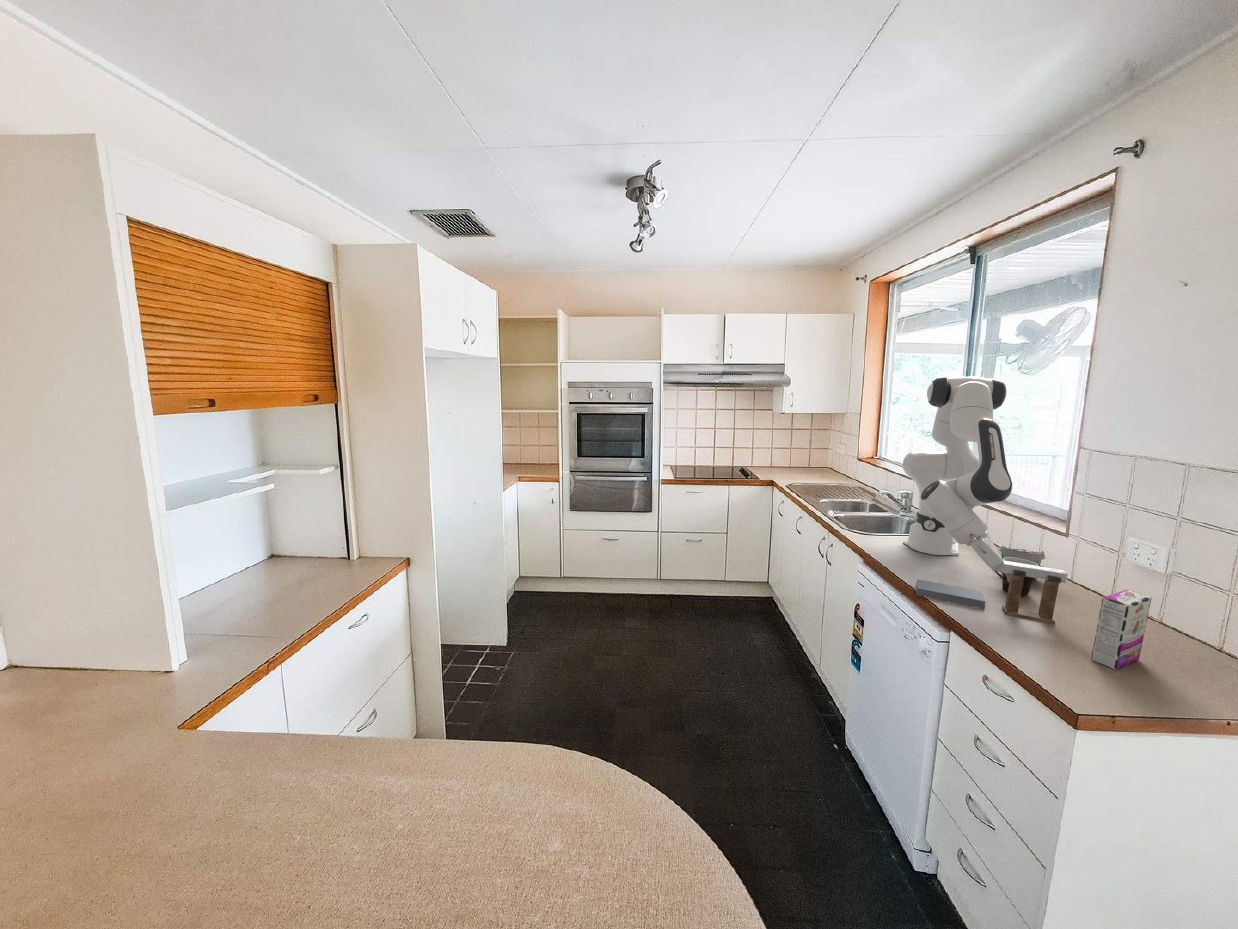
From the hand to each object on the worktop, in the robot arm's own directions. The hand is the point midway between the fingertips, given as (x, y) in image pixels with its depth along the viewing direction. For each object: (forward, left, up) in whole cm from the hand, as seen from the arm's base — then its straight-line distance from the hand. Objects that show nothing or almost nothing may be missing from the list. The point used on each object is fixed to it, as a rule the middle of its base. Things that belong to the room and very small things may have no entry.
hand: (1005, 569), depth 139 cm
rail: (-1, +5, -1) cm, 5 cm away
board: (+1, -12, -13) cm, 18 cm away
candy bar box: (+12, +24, -13) cm, 29 cm away
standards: (-2, +6, -13) cm, 14 cm away
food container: (-34, +2, -13) cm, 37 cm away
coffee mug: (-20, +1, -13) cm, 24 cm away
